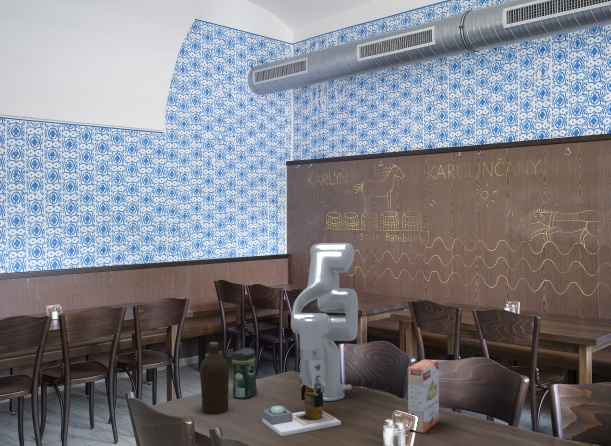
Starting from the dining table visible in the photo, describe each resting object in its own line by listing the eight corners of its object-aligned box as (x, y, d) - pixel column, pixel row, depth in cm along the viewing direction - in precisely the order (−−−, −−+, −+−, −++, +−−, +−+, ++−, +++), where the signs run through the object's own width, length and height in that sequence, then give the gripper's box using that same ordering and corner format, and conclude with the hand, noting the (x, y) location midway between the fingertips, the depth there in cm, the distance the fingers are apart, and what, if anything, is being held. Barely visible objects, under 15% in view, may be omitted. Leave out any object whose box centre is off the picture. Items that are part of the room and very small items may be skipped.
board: (319, 411, 226) (318, 400, 226) (340, 424, 211) (340, 412, 211) (262, 422, 216) (262, 410, 216) (281, 436, 201) (281, 423, 201)
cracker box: (425, 434, 200) (424, 369, 200) (407, 431, 204) (406, 367, 203) (440, 421, 212) (439, 360, 212) (423, 418, 216) (422, 358, 215)
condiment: (327, 418, 214) (326, 383, 214) (306, 423, 209) (305, 387, 209) (316, 413, 220) (315, 378, 220) (295, 417, 216) (294, 382, 215)
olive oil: (227, 414, 225) (226, 345, 224) (198, 415, 225) (196, 345, 225) (231, 405, 235) (230, 339, 235) (203, 406, 235) (201, 340, 235)
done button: (280, 413, 217) (280, 405, 217) (286, 417, 213) (286, 408, 213) (269, 415, 215) (269, 406, 215) (274, 419, 211) (274, 410, 211)
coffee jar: (243, 391, 254) (242, 346, 254) (259, 393, 250) (258, 347, 250) (229, 397, 246) (228, 350, 246) (246, 400, 242) (244, 352, 242)
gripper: (332, 356, 208) (333, 408, 209) (309, 347, 224) (310, 395, 224) (312, 359, 205) (313, 411, 205) (290, 349, 221) (291, 398, 221)
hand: (312, 403), depth 215 cm, fingers open, 9 cm apart
